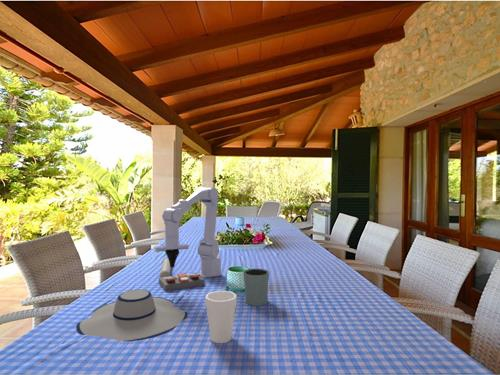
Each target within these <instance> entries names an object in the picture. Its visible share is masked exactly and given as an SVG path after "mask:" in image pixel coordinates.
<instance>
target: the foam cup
mask: <svg viewBox="0 0 500 375" xmlns="http://www.w3.org/2000/svg"><path fill="white" fill-rule="evenodd" d="M236 305H237V293H234V292H233V291H228V290H215V291H211V292H208V293H207V294H206V295H205V306H206V313H207V322H208V329H209V330H208V331H209V336H210V341H211V342H212V343H215V344H226V343H229V342H230V341H231V340H232V335H233V329H234V320H235V313H236Z"/></svg>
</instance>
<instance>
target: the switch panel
mask: <svg viewBox="0 0 500 375" xmlns="http://www.w3.org/2000/svg"><path fill="white" fill-rule="evenodd" d="M196 274H198V273H197V272H195V273H194V272H193V273H186V275H187V277H188V279H189V281H186V282H181V281H180V279H179V277H178V276H177V275H170V277H162V278H160V277H159V278H158V284H159V285H160V287H162V289H163V290H164V292H167V291H174V290H180V289H181V290H182V289H187V288H194V287H199V286H200V287H202V286H205V285H206V282H205V281H206V280H205V278H203V277H202V276H200V277H189V275H196ZM174 277H176V278H177V280H170V281H166V280H165V279H166V278H174Z"/></svg>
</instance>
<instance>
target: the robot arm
mask: <svg viewBox="0 0 500 375" xmlns="http://www.w3.org/2000/svg"><path fill="white" fill-rule="evenodd" d="M198 201H200V202H201V203H203V204H204V205H205V207H206V208H205V209H206V210H205V223H204V230H203V238H202V239H200V240H199V245H198V247H197V254H198V255H199V257H200V258H201V260H200V268H201V269H200V272H198V274H200V275H201V277H202V278H203V279H205V278H213V277H219V276H220V277H221V276H222V272H221V271H222V263H221V262H222V261H221V258H220V257H219V256H218V255H219V254H220V247H219V246H220V245H219V244H220V243H219V241H218V240H217V239H216V238H215V236H216V224H217V214H218V204H219V191H218V190H217V188H216V187H215V186H214V187H204V186H203V187H202V186H199V187H198V188H196V189H195V190H194V192H193V193H192V194H190V196H189V197H187V198H186V199H179V200H178V202H176V204H173V205H172V206H171V207H168V208H166V209H165V210H164V211H163V212H162V215H161V216H162V220H163V222H164V228H165V230H164V231H165V232H164V233H165V234H164V235H165V238H164V240H165V241H164V242H165V244H164V245H161V246H154V252H155V253H158V252H165V254H166V256H167V257H166V258H168V259H169V263H170V267H171V268H175V267H176V266H175V264H176V260H177V258H178V256H179V254H180V250H189V249H190V245H189V244H188V243H186V244H185V243H184V244H183V243H182V244H180V239H179V237H180V236H179V235H180V234H179V232H180V231H179V230H180V227H179V225H180V224H179V223H180V221H181V220H182V217H183V215H185V214H186V213H187V212H188V211H190V210H191V206H192V205H194V204H195V203H197V202H198Z"/></svg>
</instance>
